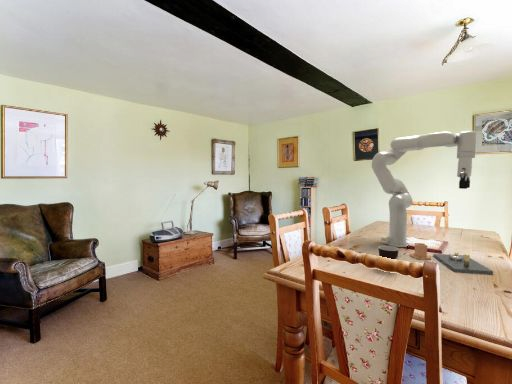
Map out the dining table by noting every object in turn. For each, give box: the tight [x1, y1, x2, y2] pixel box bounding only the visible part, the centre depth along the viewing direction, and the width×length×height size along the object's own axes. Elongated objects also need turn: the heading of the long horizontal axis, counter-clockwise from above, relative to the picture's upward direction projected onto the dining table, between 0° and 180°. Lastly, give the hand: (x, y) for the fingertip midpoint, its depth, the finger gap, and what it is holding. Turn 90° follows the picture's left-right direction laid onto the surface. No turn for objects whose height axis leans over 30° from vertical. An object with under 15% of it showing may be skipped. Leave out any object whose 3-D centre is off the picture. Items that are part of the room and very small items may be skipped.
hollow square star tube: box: [409, 242, 432, 261], centre depth 143 cm, size 10×10×7 cm
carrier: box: [432, 252, 494, 276], centre depth 131 cm, size 15×23×7 cm, turn 167°
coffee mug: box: [377, 245, 400, 260], centre depth 127 cm, size 12×9×10 cm
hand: (464, 188), depth 141 cm, fingers open, 9 cm apart
